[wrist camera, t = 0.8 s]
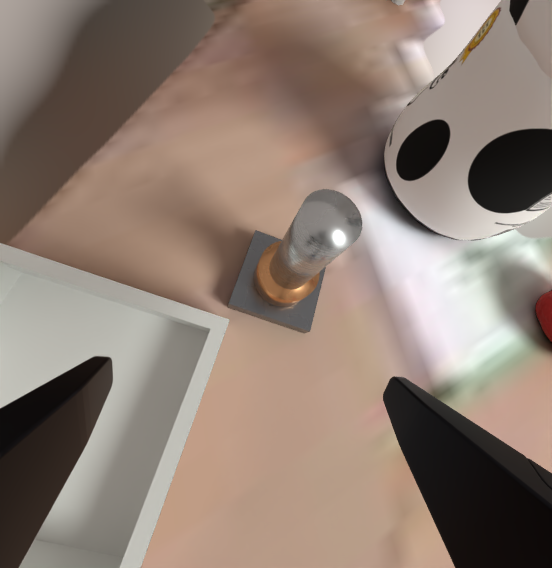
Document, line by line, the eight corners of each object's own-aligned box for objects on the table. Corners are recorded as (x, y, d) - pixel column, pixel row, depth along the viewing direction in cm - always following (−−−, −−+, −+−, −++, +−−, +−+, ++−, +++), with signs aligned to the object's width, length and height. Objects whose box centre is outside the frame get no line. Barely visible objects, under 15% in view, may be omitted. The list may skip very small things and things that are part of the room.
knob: (300, 314, 21) (368, 278, 12) (246, 295, 21) (272, 241, 11) (314, 264, 23) (382, 197, 14) (263, 245, 22) (299, 162, 13)
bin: (137, 574, 16) (117, 632, 12) (-161, 516, 14) (-282, 566, 10) (227, 326, 21) (229, 319, 18) (22, 258, 19) (-19, 236, 16)
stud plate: (303, 333, 23) (309, 331, 21) (227, 307, 22) (228, 303, 20) (321, 263, 25) (327, 257, 23) (253, 237, 24) (255, 230, 23)
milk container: (395, 108, 34) (570, -136, 17) (501, 176, 35) (762, 8, 18) (349, 198, 28) (552, -45, 11) (479, 278, 29) (843, 165, 12)
